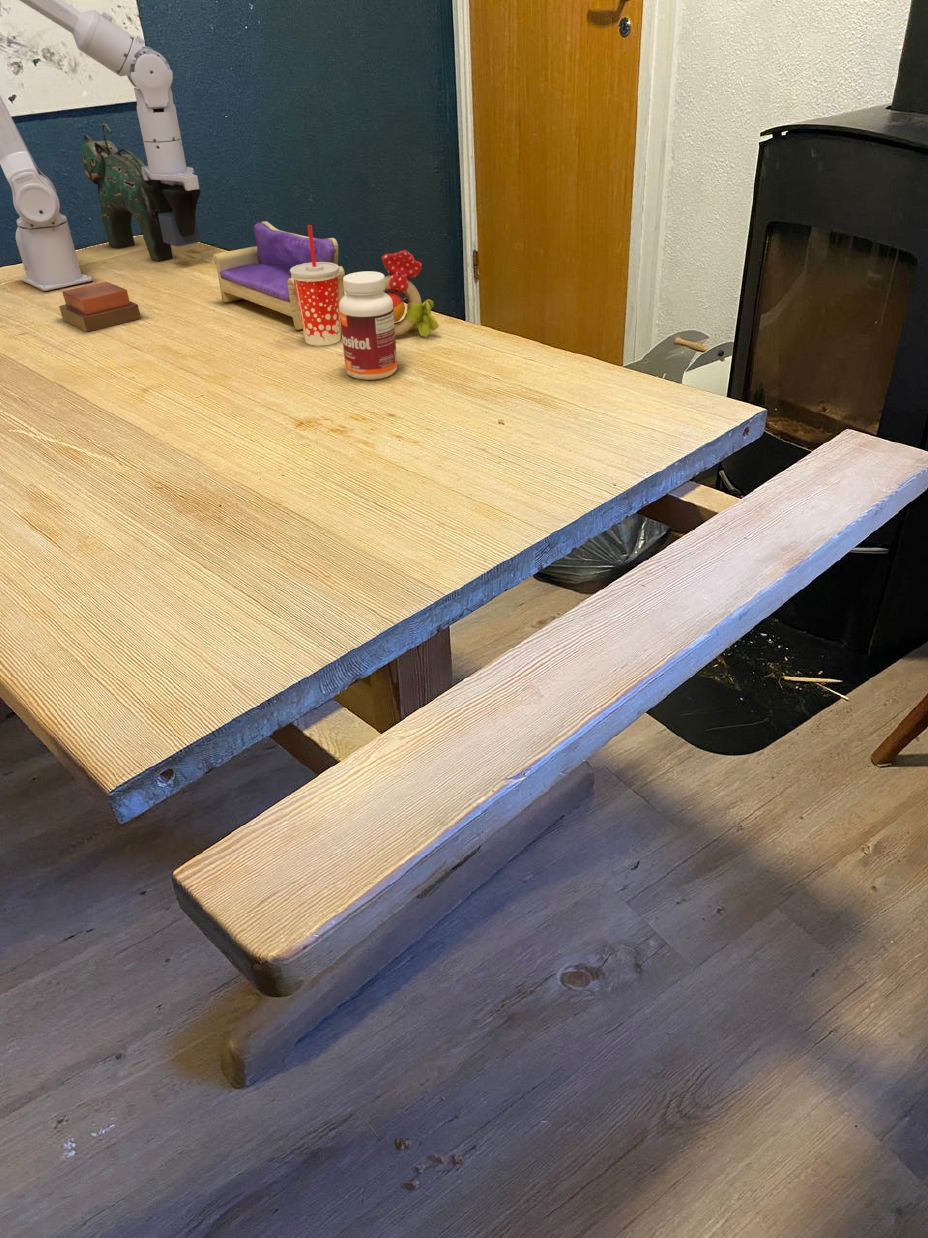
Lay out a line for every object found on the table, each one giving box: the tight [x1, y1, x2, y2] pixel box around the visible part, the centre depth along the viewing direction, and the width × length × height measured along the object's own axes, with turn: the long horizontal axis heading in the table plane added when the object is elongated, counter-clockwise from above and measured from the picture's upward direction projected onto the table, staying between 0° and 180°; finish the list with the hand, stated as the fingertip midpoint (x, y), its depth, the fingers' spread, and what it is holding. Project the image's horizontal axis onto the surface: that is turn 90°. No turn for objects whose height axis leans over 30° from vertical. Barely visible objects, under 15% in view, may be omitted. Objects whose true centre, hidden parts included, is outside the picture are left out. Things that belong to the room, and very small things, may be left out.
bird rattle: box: [381, 249, 439, 338], centre depth 115 cm, size 6×11×9 cm
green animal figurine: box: [80, 122, 173, 262], centre depth 154 cm, size 20×6×20 cm, turn 43°
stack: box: [58, 281, 142, 333], centre depth 127 cm, size 8×8×4 cm
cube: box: [158, 211, 201, 248], centre depth 147 cm, size 4×4×4 cm
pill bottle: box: [339, 270, 398, 381], centre depth 104 cm, size 6×6×11 cm
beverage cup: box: [290, 224, 342, 347], centre depth 114 cm, size 6×6×14 cm
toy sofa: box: [212, 221, 346, 330], centre depth 126 cm, size 21×9×10 cm, turn 42°
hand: (180, 232), depth 148 cm, fingers closed on cube, 4 cm apart
